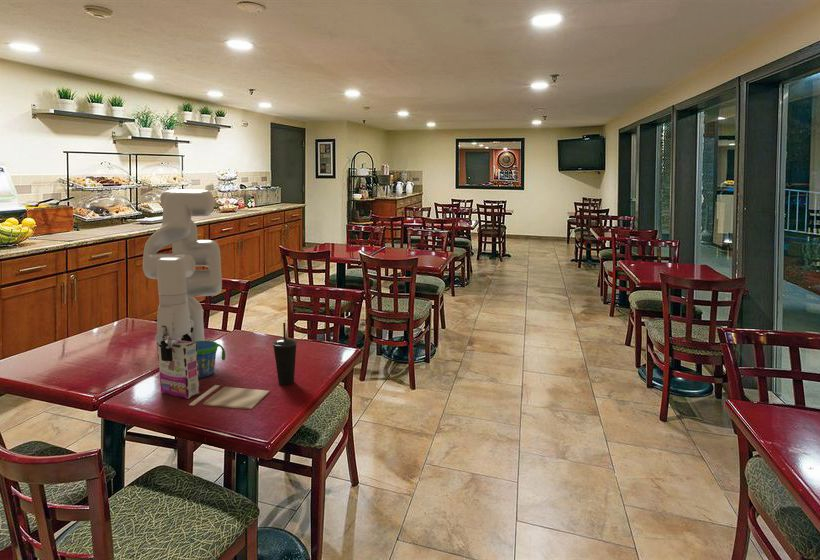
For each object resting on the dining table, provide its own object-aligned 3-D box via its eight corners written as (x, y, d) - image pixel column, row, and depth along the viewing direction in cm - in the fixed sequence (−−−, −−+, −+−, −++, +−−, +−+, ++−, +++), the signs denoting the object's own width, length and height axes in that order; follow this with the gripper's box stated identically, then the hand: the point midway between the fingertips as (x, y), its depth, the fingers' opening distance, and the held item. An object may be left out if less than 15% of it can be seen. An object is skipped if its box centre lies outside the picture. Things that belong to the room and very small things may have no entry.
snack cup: (222, 364, 177) (220, 337, 175) (230, 374, 169) (229, 345, 167) (173, 373, 168) (171, 344, 166) (180, 384, 160) (178, 354, 158)
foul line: (189, 405, 146) (188, 404, 146) (215, 385, 159) (214, 385, 159) (193, 405, 146) (193, 404, 146) (219, 386, 159) (219, 385, 159)
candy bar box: (201, 393, 154) (197, 341, 151) (188, 399, 149) (184, 346, 146) (173, 387, 158) (169, 336, 155) (160, 393, 154) (155, 341, 150)
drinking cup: (276, 378, 166) (274, 319, 162) (299, 377, 167) (298, 319, 163) (271, 387, 159) (269, 326, 155) (296, 387, 159) (294, 326, 156)
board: (202, 404, 146) (202, 403, 146) (224, 388, 158) (224, 386, 158) (251, 409, 144) (251, 407, 144) (269, 392, 155) (269, 390, 155)
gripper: (179, 293, 157) (183, 346, 160) (141, 305, 140) (146, 364, 143) (201, 294, 156) (205, 347, 159) (166, 306, 139) (170, 366, 142)
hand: (177, 355), depth 151 cm, fingers open, 9 cm apart
